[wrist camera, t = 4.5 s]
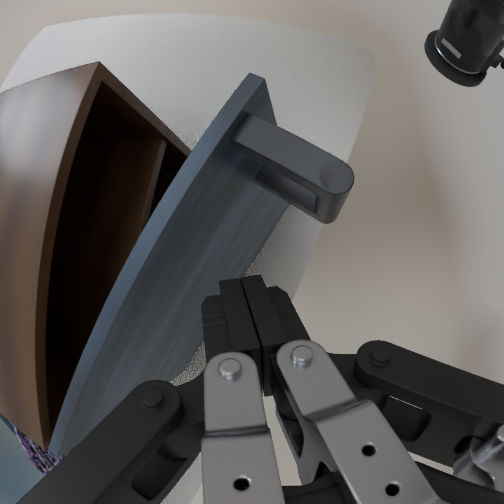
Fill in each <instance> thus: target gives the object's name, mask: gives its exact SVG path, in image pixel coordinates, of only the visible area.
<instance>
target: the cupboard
mask: <svg viewBox="0 0 504 504" xmlns="http://www.w3.org/2000/svg"><path fill="white" fill-rule="evenodd" d="M191 152H192V151H191V150H190V149H189V148H188V147H187V146H186V145H185V144H184V143H183V142H182V141H181V140H180V139H179V138H178V137H177V136H176V135H175V134H174V133H173V132H172V131H171V130H170V129H169V128H168V127H167V126H166V125H165V124H164V123H163V122H162V121H161V120H160V119H159V118H158V117H157V116H156V115H155V114H154V113H153V112H152V111H151V110H150V109H149V108H148V107H147V106H146V105H144V104H143V103H142V102H141V101H140V100H139V99H138V98H137V97H136V96H135V95H134V94H133V93H132V92H131V91H130V90H129V89H128V88H127V87H126V86H125V85H124V84H123V83H122V82H121V81H119V80H118V79H117V78H116V77H115V76H114V75H113V74H112V73H111V72H110V71H109V70H108V69H107V68H106V67H105V66H104V65H103V64H102V63H101V62H99V61H98V62H94V63H90V64H86V65H82V66H78V67H74V68H71V69H67V70H64V71H60V72H57V73H54V74H51V75H47V76H44V77H41V78H38V79H35V80H33V81H30V82H27V83H24V84H22V85H19V86H16V87H14V88H11V89H9V90H7V91H4V92H2V93H0V413H1V414H2V415H3V416H4V417H5V418H6V419H7V420H9V421H10V422H11V423H12V424H13V425H14V426H15V427H17V428H18V429H19V430H20V431H21V432H23V433H24V434H25V435H26V436H27V437H29V438H30V439H31V440H32V441H34V442H35V443H36V444H38V445H39V446H40V447H42V448H43V449H46V448H48V447H49V445H50V442H51V439H52V435H53V432H54V429H55V426H56V423H57V420H58V417H59V414H60V411H61V408H62V405H63V402H64V400H65V397H66V394H67V391H68V389H69V386H70V383H71V381H72V378H73V376H74V373H75V371H76V368H77V366H78V363H79V361H80V358H81V356H82V353H83V351H84V349H85V346H86V344H87V342H88V339H89V337H90V335H91V333H92V330H93V328H94V326H95V324H96V321H97V319H98V317H99V315H100V313H101V311H102V309H103V306H104V304H105V302H106V300H107V298H108V296H109V294H110V292H111V290H112V288H113V286H114V284H115V282H116V280H117V278H118V276H119V274H120V272H121V270H122V268H123V266H124V264H125V263H126V261H127V259H128V257H129V255H130V253H131V251H132V249H133V248H134V246H135V244H136V242H137V240H138V239H139V237H140V235H141V233H142V231H143V230H144V228H145V226H146V224H147V223H148V221H149V219H150V217H151V216H152V214H153V212H154V211H155V209H156V207H157V206H158V204H159V202H160V201H161V199H162V197H163V196H164V194H165V192H166V191H167V189H168V188H169V186H170V184H171V183H172V181H173V180H174V178H175V176H176V175H177V173H178V172H179V170H180V169H181V167H182V166H183V164H184V162H185V161H186V159H187V158H188V156H189V155H190V153H191Z"/></svg>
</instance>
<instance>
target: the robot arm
mask: <svg viewBox="0 0 504 504" xmlns="http://www.w3.org/2000/svg"><path fill="white" fill-rule="evenodd" d="M503 38H504V0H452V1H451V3H450V6H449V8H448V10H447V13H446V15H445V18H444V20H443V22H442V24H441V27H440V29H439V31H438V33H437V35H436V37H435V39H434V48H435V50H436V52H437V54H438V55H439V57H440V58H441V59H442V60H443V61H444V62H445V63H446V64H447V65H448V66H450V67H451V68H452V69H454V70H456V71H457V72H459V73H462V74H464V75H469V76H474V75H477V74H480V75H484V73H485V72H486V71H487V69H488V68H489V67H490V66H492V67H494V68H496V67H497V66H498V65H499V63H500V62H501V65H500V66H501V68H502V69H504V58H503V57H502V56H500V55H499V53H500V52H501V50H502V49H503V48H504V39H503ZM219 289H220V295H214V296H206V297H205V299H204V301H203V303H202V305H201V313H202V323H203V333H204V342H205V351H206V365H205V368H204V369H203V371H202V372H201V373H200V375H198V376H197V377H196V378H195V379H193V380H191V381H189V382H187V383H184V384H182V385H179V386H177V387H175V386H174V385H173V384H171V383H169V382H167V381H163V380H150V381H146V382H143V383H141V384H139V385H138V386H137V387H135V388H134V389H133V390H132V391H131V392H130V393H129V394H128V395H127V396H126V397H125V398H124V399H123V400H122V401H121V402H120V403H119V404H118V405H117V406H116V407H115V408H114V409H113V410H112V411H111V412H110V413H109V414H108V415H107V416H106V417H105V418H104V419H103V420H102V421H101V422H100V423H99V424H98V425H97V426H96V427H95V428H94V429H93V430H92V431H91V432H90V433H89V434H88V435H87V436H86V437H85V438H84V439H83V440H82V441H80V442H79V443H78V444H77V445H76V446H75V447H74V448H73V449H72V450H71V451H70V452H69V453H68V454H67V455H66V456H65V457H64V458H63V459H62V460H61V461H60V462H59V463H58V464H57V465H56V466H55V467H54V468H53V469H52V470H51V471H50V472H49V473H48V474H46V475H45V476H44V478H42V479H41V480H40V481H39V482H38V483H37V484H36V485H35V486H34V487H33V488H32V489H31V490H30V491H29V492H28V493H27V494H26V495H25V496H23V497H22V498H21V499H20V500H19V501H18V502H17V503H16V504H160V503H161V502H162V501H163V499H164V498H165V497H166V496H167V495H168V493H169V492H170V491H171V490H172V488H173V487H174V486H175V485H176V483H177V482H178V481H179V480H180V478H181V477H182V476H183V475H184V473H185V472H186V471H187V470H188V468H189V467H190V466H191V464H192V463H193V462H194V460H195V459H196V458H197V456H198V454H199V452H201V456H202V481H203V499H204V504H504V385H503V384H500V383H497V382H494V381H491V380H489V379H486V378H483V377H480V376H477V375H474V374H472V373H469V372H466V371H463V370H461V369H458V368H455V367H452V366H450V365H447V364H444V363H442V362H439V361H436V360H434V359H431V358H428V357H426V356H423V355H420V354H417V353H415V352H412V351H410V350H407V349H405V348H402V347H399V346H397V345H394V344H392V343H389V342H386V341H380V340H377V341H376V340H375V341H369V342H367V343H365V344H363V345H362V346H361V347H360V348H359V349H358V352H357V354H332V353H328V352H326V351H325V350H324V348H323V347H322V346H320V345H319V344H318V343H316V342H313V341H311V339H310V337H309V335H308V333H307V331H306V329H305V327H304V325H303V324H302V322H301V320H300V318H299V316H298V314H297V312H296V310H295V308H294V306H293V304H292V302H291V300H290V298H289V296H288V294H287V293H286V292H285V291H283V290H282V289H280V288H279V287H278V286H274V287H268V288H266V285H265V283H264V281H263V278H262V276H261V275H254V276H247V277H241V278H240V279H239V278H234V279H227V280H219ZM262 389H263V393H264V396H265V397H266V396H272V395H273V397H274V400H275V403H276V416H277V419H278V421H279V423H280V426H281V428H282V431H283V433H284V435H285V438H286V440H287V442H288V444H289V447H290V449H291V451H292V454H293V456H294V458H295V461H296V464H297V468H298V473H299V478H300V481H301V483H302V486H281V481H280V476H279V471H278V466H277V461H276V456H275V451H274V446H273V441H272V436H271V432H270V429H269V428H268V425H267V421H266V415H265V410H264V405H263V399H262V397H263V395H262ZM390 396H392V397H394V398H392V397H390ZM395 398H397V399H399V400H397V399H395ZM400 400H402V401H404V402H407V403H409V404H412V405H414V406H417V407H419V408H422V409H419V408H417V407H414V406H412V405H409V404H407V403H404V402H402V401H400ZM408 451H409V452H411V453H414V454H417V455H419V456H422V457H424V458H427V459H430V460H432V461H435V462H438V463H441V464H443V465H446V466H449V467H452V468H453V470H454V472H453V475H450V474H447V473H445V472H442V471H440V470H438V469H435V468H432V467H430V466H428V465H425V464H423V463H420V462H417V461H414V460H413V459H412V457H411V456H410V454H409V453H408Z"/></svg>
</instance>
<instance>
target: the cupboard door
mask: <svg viewBox="0 0 504 504" xmlns="http://www.w3.org/2000/svg"><path fill="white" fill-rule="evenodd" d="M353 183H354V173H353V171H352V169H351V167H350V166H349V165H348V164H346V163H345V162H344V161H342V160H340V159H338V158H337V157H335V156H333V155H331V154H330V153H328V152H326V151H324V150H322V149H321V148H319V147H317V146H315V145H313V144H311V143H309V142H307V141H306V140H304V139H302V138H300V137H298V136H296V135H294V134H292V133H290V132H288V131H286V130H284V129H282V128H280V127H278V126H277V124H276V119H275V115H274V111H273V108H272V104H271V100H270V96H269V92H268V88H267V84H266V81H265V79H264V78H262V77H259V76H257V75H254V74H252V73H249V74H248V75H247V76H246V78H245V79H244V80H243V81H242V83H241V84H240V85H239V87H238V88H237V89H236V91H235V92H234V93H233V94H232V96H231V97H230V98H229V100H228V101H227V102H226V104H225V105H224V106H223V108H222V109H221V111H220V112H219V113H218V115H217V116H216V117H215V119H214V120H213V122H212V123H211V124H210V126H209V127H208V129H207V130H206V131H205V133H204V134H203V136H202V137H201V139H200V140H199V142H198V143H197V145H196V146H195V147H194V149H193V150H192V152H191V153H190V155H189V156H188V158H187V159H186V161H185V162H184V164H183V166H182V167H181V169H180V170H179V172H178V173H177V175H176V176H175V178H174V180H173V181H172V183H171V184H170V186H169V188H168V189H167V191H166V192H165V194H164V196H163V197H162V199H161V201H160V202H159V204H158V206H157V207H156V209H155V211H154V212H153V214H152V216H151V217H150V219H149V221H148V223H147V224H146V226H145V228H144V230H143V231H142V233H141V235H140V237H139V239H138V240H137V242H136V244H135V246H134V248H133V249H132V251H131V253H130V255H129V257H128V259H127V261H126V263H125V264H124V266H123V268H122V270H121V272H120V274H119V276H118V278H117V280H116V282H115V284H114V286H113V288H112V290H111V292H110V294H109V296H108V298H107V300H106V302H105V304H104V306H103V309H102V311H101V313H100V315H99V317H98V319H97V321H96V324H95V326H94V328H93V330H92V333H91V335H90V337H89V339H88V342H87V344H86V346H85V349H84V351H83V353H82V356H81V358H80V361H79V363H78V366H77V368H76V371H75V373H74V376H73V378H72V381H71V383H70V386H69V389H68V391H67V394H66V397H65V400H64V402H63V405H62V408H61V411H60V414H59V417H58V420H57V423H56V426H55V429H54V432H53V435H52V439H51V442H50V445H49V451H50V452H51V453H52V454H53V455H54V456H55V457H56V458H58V457H60V456H61V455H63V454H64V453H66V452H67V451H69V450H71V449H72V448H74V447H75V446H76V445H77V444H78V443H79V442H80V441H82V440H83V439H84V438H85V437H86V436H87V435H88V434H89V433H90V432H91V431H92V430H93V429H94V428H95V427H96V426H97V425H98V424H99V423H100V422H101V421H102V420H103V419H104V418H105V417H106V416H107V415H108V414H109V413H110V412H111V411H112V410H113V409H114V408H115V407H116V406H117V405H118V404H119V403H120V402H121V401H122V400H123V399H124V398H125V397H126V396H127V395H128V394H129V393H130V392H131V391H132V390H133V389H134V388H135V387H137V386H138V385H139V384H141V383H143V382H146V381H150V380H163V381H167V382H170V381H171V380H172V379H174V378H175V377H176V376H178V375H179V374H180V373H182V372H183V371H184V369H185V367H186V366H187V364H188V363H189V361H190V360H191V358H192V356H193V355H194V353H195V352H196V350H197V349H198V347H199V346H200V344H201V342H202V341H203V339H204V333H203V323H202V313H201V305H202V303H203V301H204V299H205V297H206V296H214V295H220V289H219V280H227V279H234V278H239V279H240V278H241V277H243V276H244V275H245V273H246V271H247V270H248V268H249V267H250V265H251V264H252V262H253V260H254V259H255V257H256V256H257V254H258V252H259V251H260V249H261V248H262V246H263V244H264V243H265V241H266V240H267V238H268V237H269V235H270V233H271V232H272V230H273V229H274V227H275V225H276V224H277V222H278V221H279V219H280V217H281V216H282V214H283V213H284V211H285V209H286V208H287V206H288V205H289V203H290V204H291V205H293V206H295V207H296V208H298V209H300V210H301V211H303V212H305V213H306V214H308V215H310V216H311V217H313V218H315V219H316V220H318V221H320V222H321V223H324V224H328V223H332V222H333V221H334V220H335V219H336V218H337V216H338V214H339V212H340V210H341V208H342V206H343V204H344V202H345V200H346V198H347V196H348V194H349V192H350V190H351V188H352V186H353Z"/></svg>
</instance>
